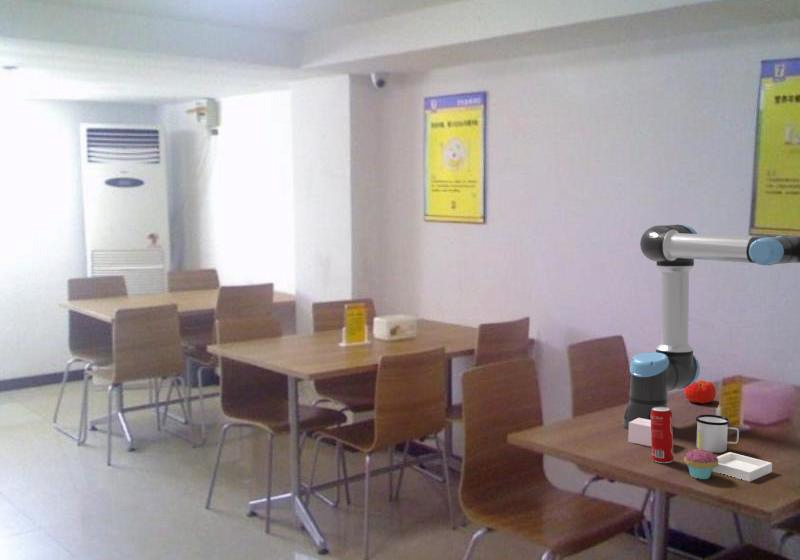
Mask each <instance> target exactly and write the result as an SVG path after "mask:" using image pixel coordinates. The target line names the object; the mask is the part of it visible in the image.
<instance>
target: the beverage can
mask: <svg viewBox="0 0 800 560" xmlns="http://www.w3.org/2000/svg"><path fill="white" fill-rule="evenodd" d="M650 415H651V444H652V447H651V459H652V461H653V462H654V461H655V463H657V462H658V463H659V464H669V463H672V462H673V461H674V457H675V456H674V431H673V428H674V427H673V413H672V411H671V408H670V407H653V408H652V410H651V413H650Z"/></svg>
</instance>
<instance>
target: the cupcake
mask: <svg viewBox="0 0 800 560" xmlns="http://www.w3.org/2000/svg"><path fill="white" fill-rule="evenodd" d="M717 457H718V456H717V455H715V453H712V452H710V451H706V450H701V433H700V432H699V433H698V448H695V449H692V450H688V452H686V453H685V454H684V459H683V462H684V463H685V464H686V465H687V468H688V470H689V474H690V477H692V478H693V477H694V478H693V479H697V478H699V479H698V480H708V479H710V477H711V474H712V472H713V471H712V470H713V468H714V467H717V466H718V458H717Z"/></svg>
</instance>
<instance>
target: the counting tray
mask: <svg viewBox="0 0 800 560" xmlns="http://www.w3.org/2000/svg"><path fill="white" fill-rule="evenodd" d="M716 457H717V458H718V466H717V467H714V468H713V470H712V472H713V473H716V474H720V473H721V475H723V474H725V475H724V476H727V475H728V476H727V477H730V476H732V477H731V478H734V477H735V478H734V479H738V480H741V479H742V480H741V481H745V482H753V481H754V480H757V479H759V478H761V477H764V476H766V475H768V474H771V473H772V472H773V462H769V461H766V460H762V459H758V458H754V457H750V456H746V455H742V454H739V453H735V452H731V451H730V452H726V453H723V454H721V455H718V456H716Z"/></svg>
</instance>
